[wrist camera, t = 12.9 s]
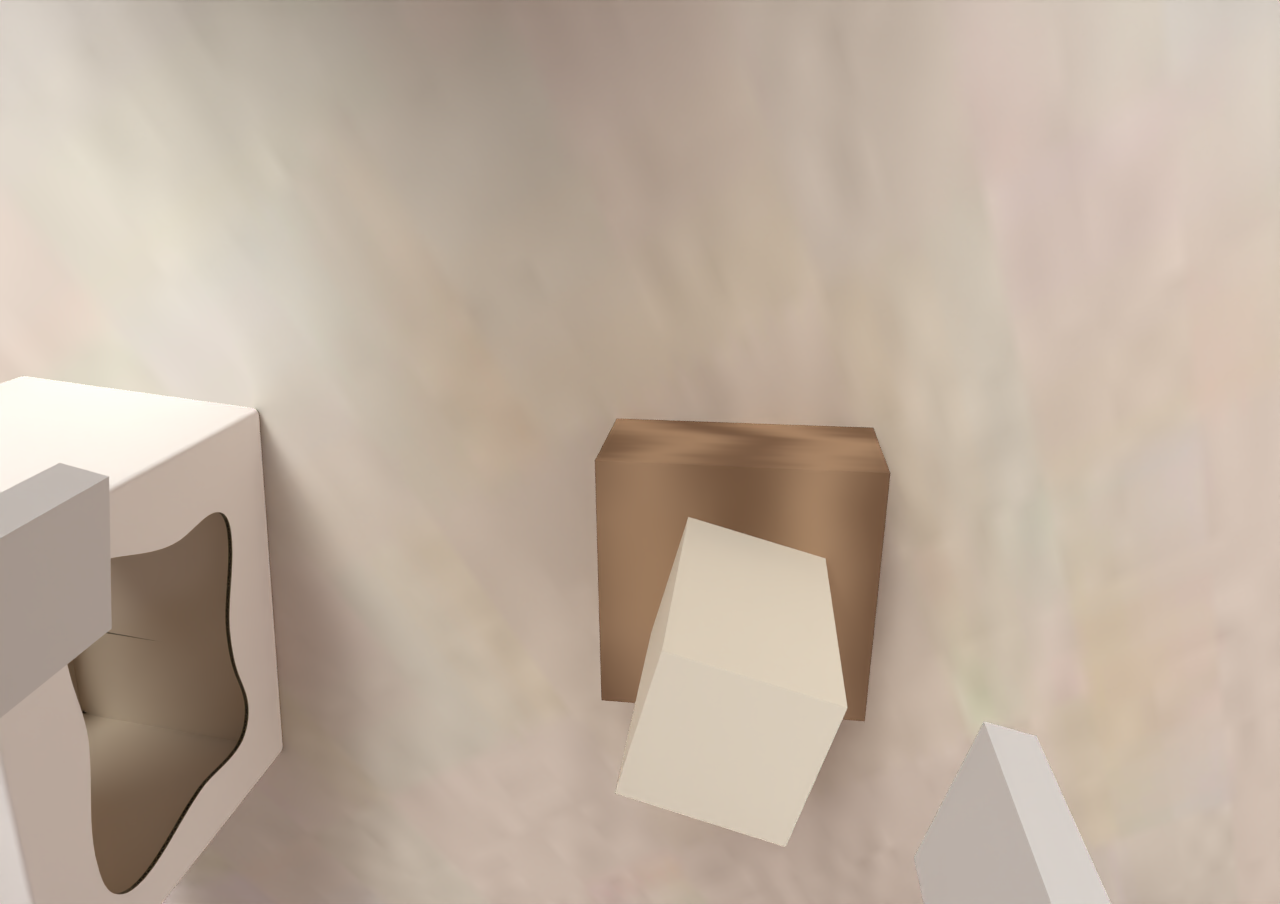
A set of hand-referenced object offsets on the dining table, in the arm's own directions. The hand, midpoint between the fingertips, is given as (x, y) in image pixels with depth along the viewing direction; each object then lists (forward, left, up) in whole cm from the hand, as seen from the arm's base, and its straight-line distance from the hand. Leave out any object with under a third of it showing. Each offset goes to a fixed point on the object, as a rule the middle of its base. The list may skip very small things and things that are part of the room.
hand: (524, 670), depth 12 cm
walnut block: (+5, -10, -28) cm, 30 cm away
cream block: (+6, -10, -22) cm, 25 cm away
